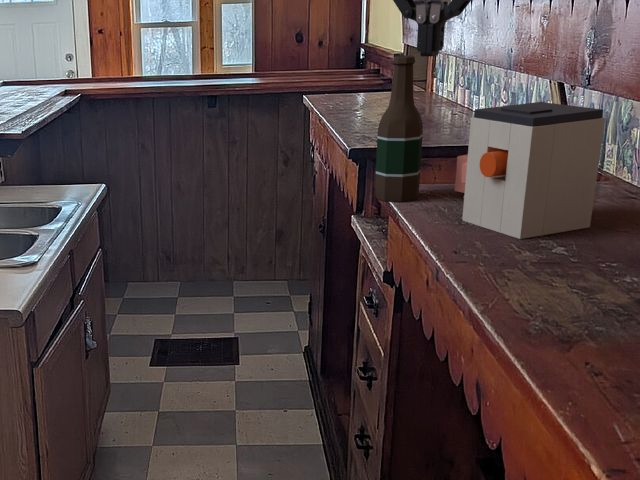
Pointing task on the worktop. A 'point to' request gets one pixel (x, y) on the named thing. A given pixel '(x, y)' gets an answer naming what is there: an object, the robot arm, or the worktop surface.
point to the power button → (494, 163)
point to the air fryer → (534, 168)
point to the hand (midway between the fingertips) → (429, 55)
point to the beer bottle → (399, 139)
